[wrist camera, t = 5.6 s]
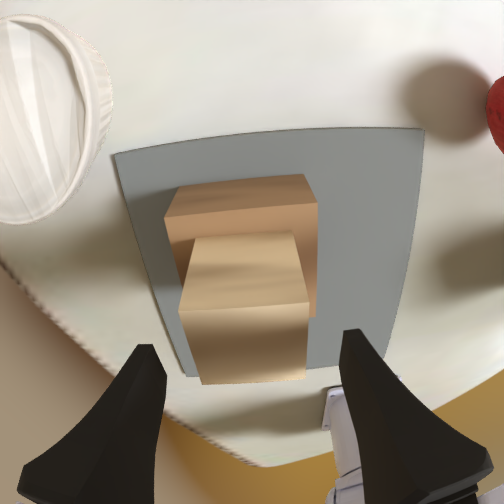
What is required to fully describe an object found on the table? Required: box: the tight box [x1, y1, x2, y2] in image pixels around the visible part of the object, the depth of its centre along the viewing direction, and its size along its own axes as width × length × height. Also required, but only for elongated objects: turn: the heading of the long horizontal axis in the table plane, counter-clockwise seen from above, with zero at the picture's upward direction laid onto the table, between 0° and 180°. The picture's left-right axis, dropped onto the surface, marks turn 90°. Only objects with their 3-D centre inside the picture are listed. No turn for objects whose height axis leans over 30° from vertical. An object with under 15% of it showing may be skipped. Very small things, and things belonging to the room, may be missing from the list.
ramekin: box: [0, 14, 113, 225], centre depth 13 cm, size 11×11×5 cm
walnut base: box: [164, 174, 318, 318], centre depth 18 cm, size 7×7×4 cm
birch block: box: [178, 230, 309, 385], centre depth 14 cm, size 4×4×5 cm
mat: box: [114, 127, 425, 377], centre depth 22 cm, size 20×18×1 cm
